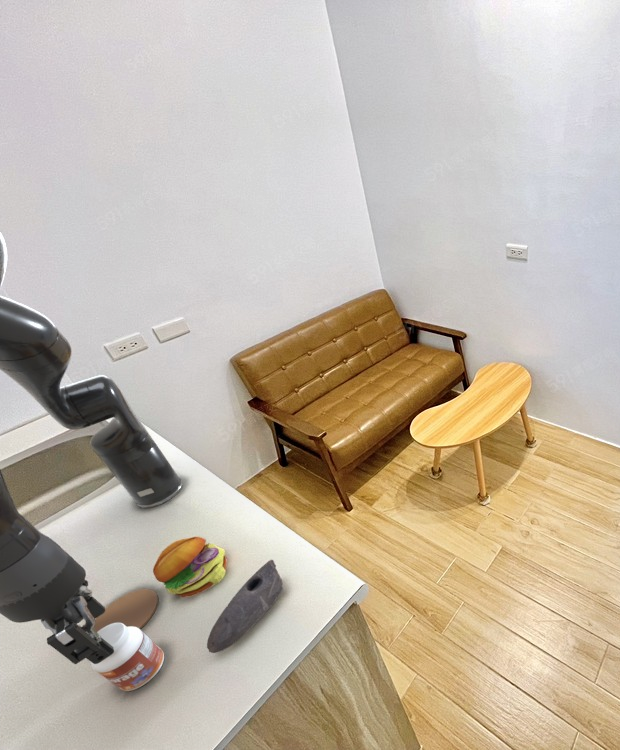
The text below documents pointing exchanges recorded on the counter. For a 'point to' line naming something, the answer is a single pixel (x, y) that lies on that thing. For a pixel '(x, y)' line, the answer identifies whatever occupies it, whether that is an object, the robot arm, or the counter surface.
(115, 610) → the coaster
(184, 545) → the cheeseburger
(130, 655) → the pill bottle
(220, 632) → the perforated stone tool
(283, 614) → the counter surface
